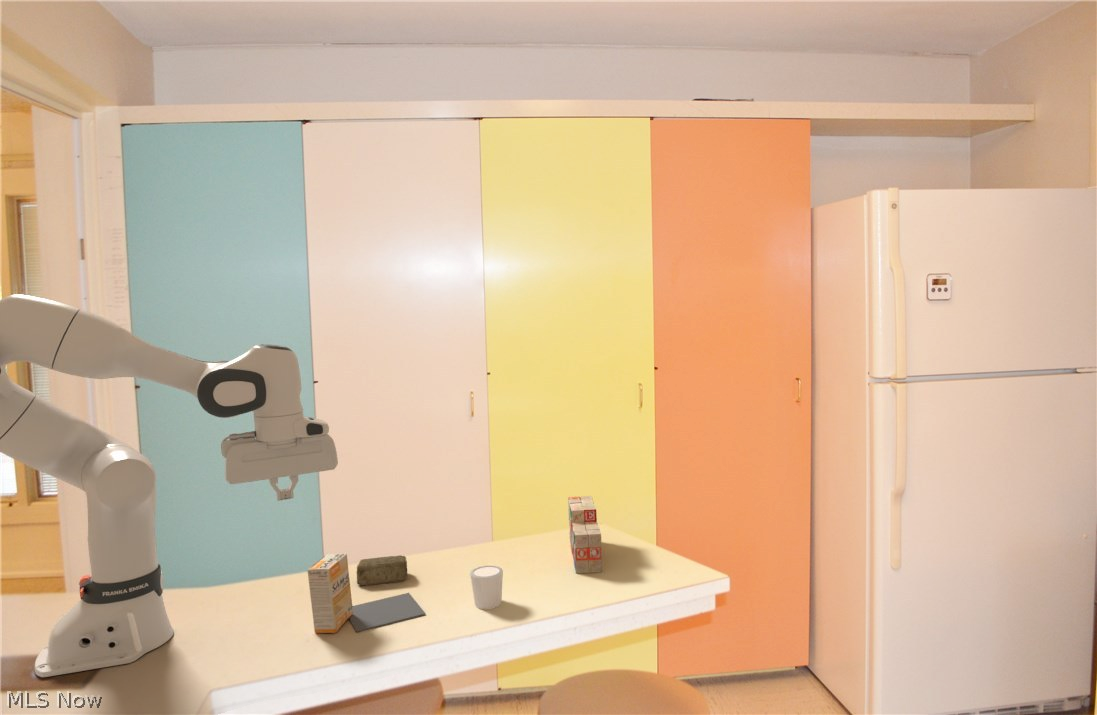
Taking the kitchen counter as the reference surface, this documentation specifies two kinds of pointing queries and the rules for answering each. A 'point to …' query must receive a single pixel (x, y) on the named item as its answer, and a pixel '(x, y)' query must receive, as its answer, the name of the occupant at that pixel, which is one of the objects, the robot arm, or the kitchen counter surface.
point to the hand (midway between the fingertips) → (285, 499)
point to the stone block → (381, 570)
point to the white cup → (487, 586)
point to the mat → (385, 612)
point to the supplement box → (330, 593)
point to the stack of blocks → (584, 535)
